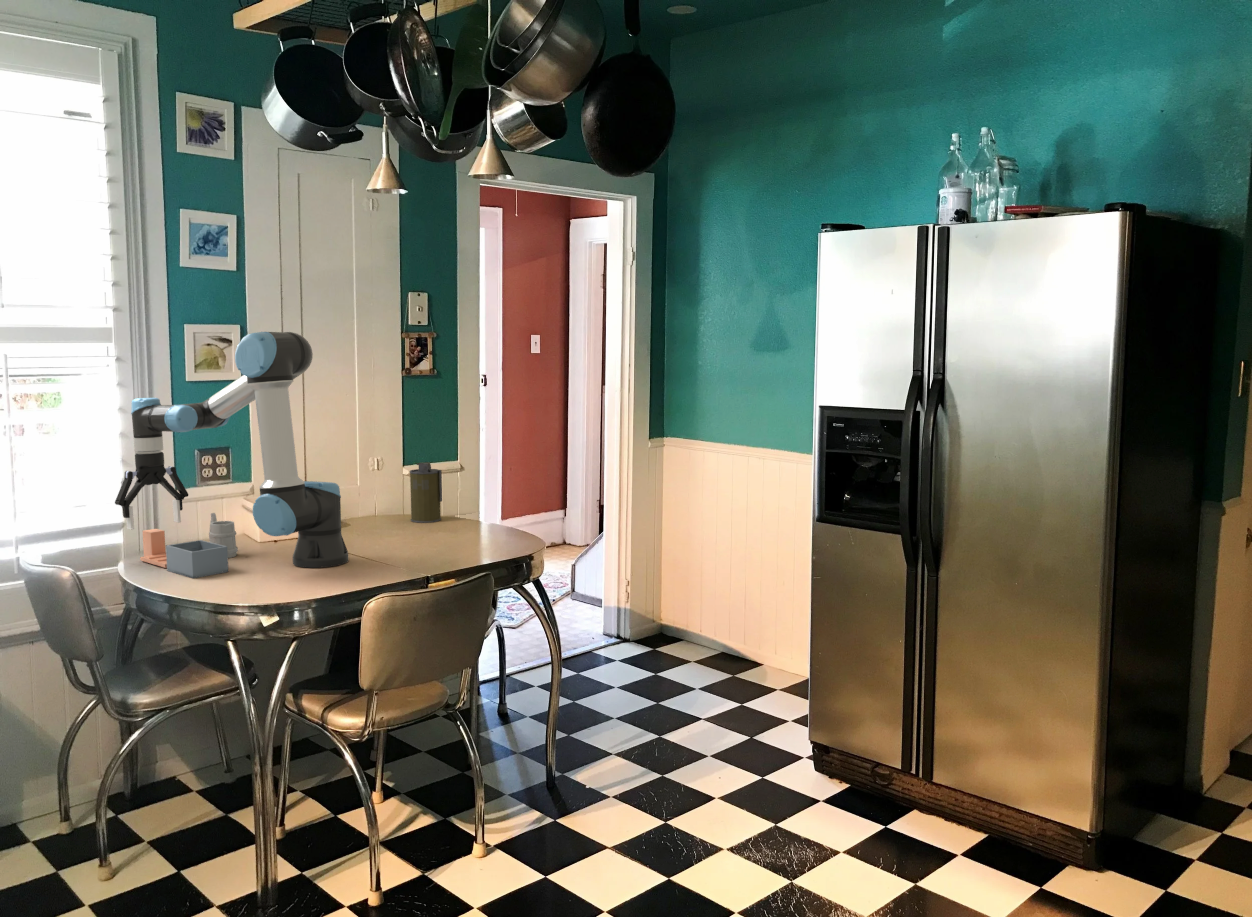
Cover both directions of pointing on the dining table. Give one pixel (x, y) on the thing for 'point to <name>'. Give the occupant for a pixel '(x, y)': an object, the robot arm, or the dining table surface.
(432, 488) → the canister
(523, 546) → the dining table surface
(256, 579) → the dining table surface
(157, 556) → the lid
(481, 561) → the dining table surface
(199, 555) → the tub
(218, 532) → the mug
